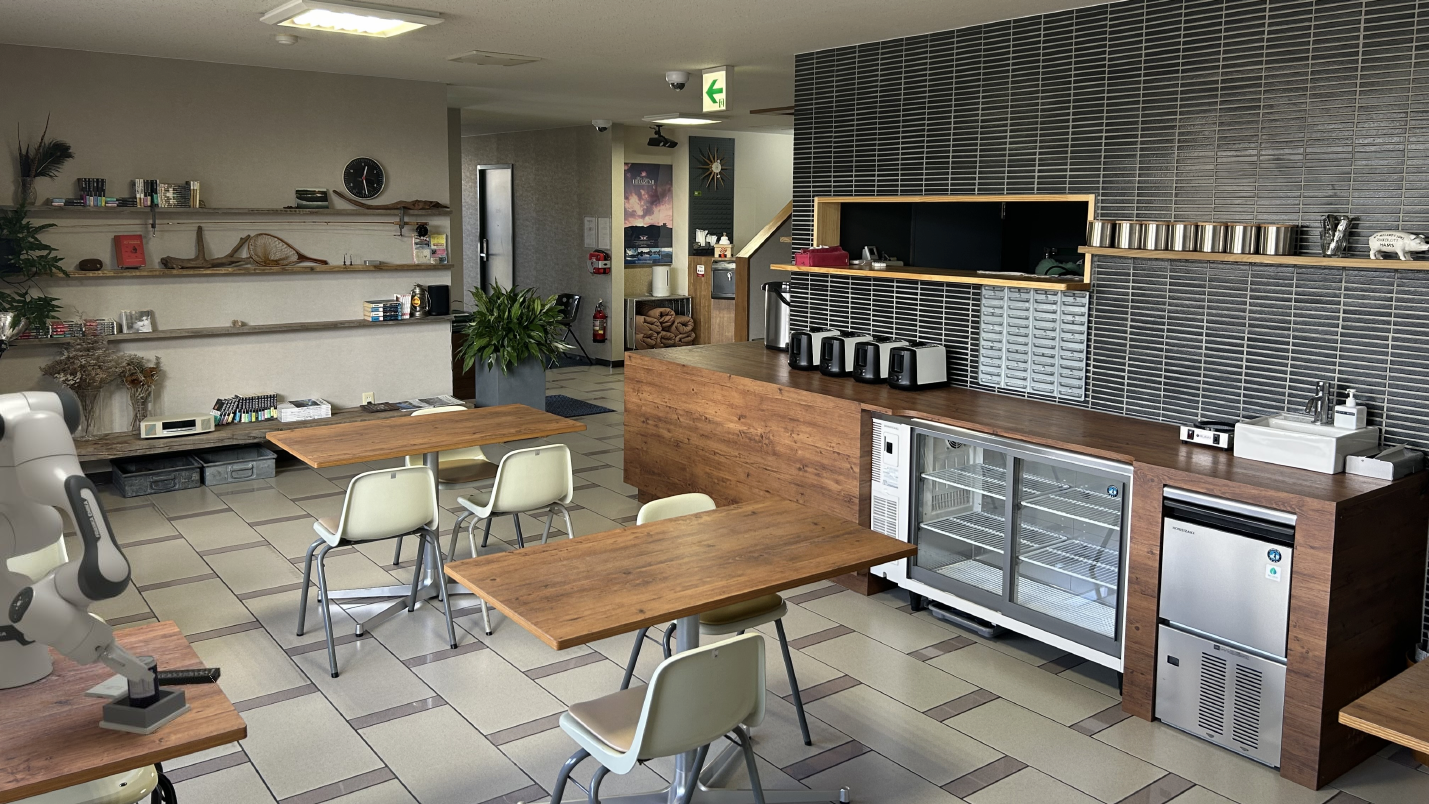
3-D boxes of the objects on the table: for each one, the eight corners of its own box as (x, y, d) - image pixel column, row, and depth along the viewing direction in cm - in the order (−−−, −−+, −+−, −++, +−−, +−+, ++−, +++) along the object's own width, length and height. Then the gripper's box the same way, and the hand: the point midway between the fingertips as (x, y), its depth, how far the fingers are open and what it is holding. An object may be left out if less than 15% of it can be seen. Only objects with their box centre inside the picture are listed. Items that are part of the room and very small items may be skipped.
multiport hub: (154, 680, 240) (153, 671, 240) (221, 676, 243) (220, 667, 242) (147, 688, 236) (146, 679, 236) (215, 684, 238) (215, 675, 238)
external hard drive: (156, 678, 242) (116, 701, 230) (126, 675, 244) (84, 698, 232) (156, 671, 242) (115, 694, 230) (125, 668, 243) (83, 691, 231)
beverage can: (167, 710, 222) (162, 656, 220) (143, 721, 217) (138, 667, 215) (148, 705, 224) (143, 652, 222) (124, 716, 219) (119, 662, 217)
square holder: (99, 727, 217) (97, 706, 216) (145, 702, 228) (143, 682, 228) (147, 734, 214) (145, 714, 213) (190, 709, 225) (189, 689, 224)
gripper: (117, 641, 205) (174, 673, 214) (84, 615, 219) (139, 646, 228) (94, 670, 203) (153, 701, 212) (62, 642, 217) (118, 672, 225)
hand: (145, 672), depth 220 cm, fingers closed on beverage can, 6 cm apart
